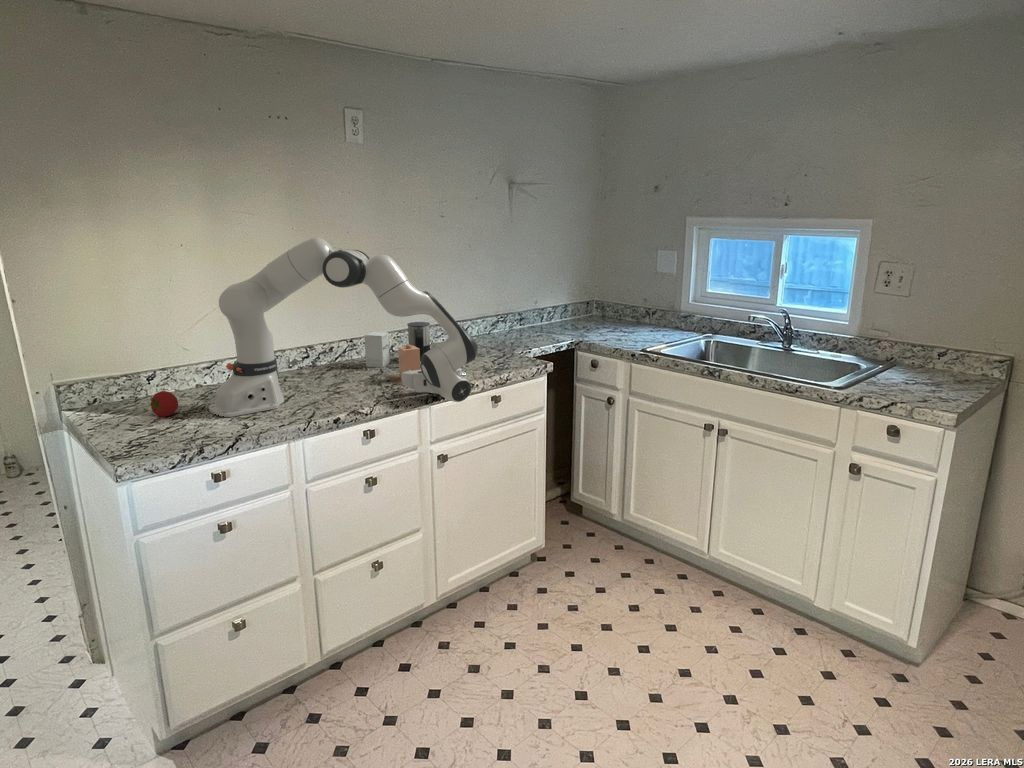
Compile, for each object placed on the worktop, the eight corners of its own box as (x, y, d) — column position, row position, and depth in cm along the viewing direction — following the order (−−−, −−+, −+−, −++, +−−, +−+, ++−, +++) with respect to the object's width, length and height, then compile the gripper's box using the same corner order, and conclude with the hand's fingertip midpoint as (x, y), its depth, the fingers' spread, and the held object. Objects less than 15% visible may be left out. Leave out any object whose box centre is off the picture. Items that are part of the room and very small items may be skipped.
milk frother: (405, 358, 268) (403, 322, 264) (441, 354, 275) (440, 319, 271) (416, 365, 256) (415, 328, 252) (454, 361, 263) (453, 325, 259)
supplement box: (383, 367, 253) (381, 335, 249) (365, 366, 254) (363, 335, 251) (390, 363, 260) (388, 332, 256) (373, 362, 261) (371, 331, 258)
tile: (399, 388, 226) (399, 385, 226) (384, 378, 237) (384, 376, 237) (436, 382, 233) (436, 379, 233) (420, 373, 244) (420, 370, 244)
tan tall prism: (405, 380, 231) (404, 347, 228) (399, 377, 236) (397, 344, 232) (420, 378, 234) (419, 345, 231) (414, 374, 239) (413, 342, 235)
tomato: (174, 384, 199) (149, 386, 192) (186, 403, 196) (161, 406, 190) (164, 402, 202) (139, 404, 196) (175, 421, 200) (150, 424, 193)
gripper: (468, 365, 216) (450, 357, 228) (410, 374, 206) (394, 364, 218) (468, 384, 218) (450, 374, 229) (411, 393, 208) (395, 383, 219)
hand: (423, 370), depth 223 cm, fingers open, 8 cm apart
